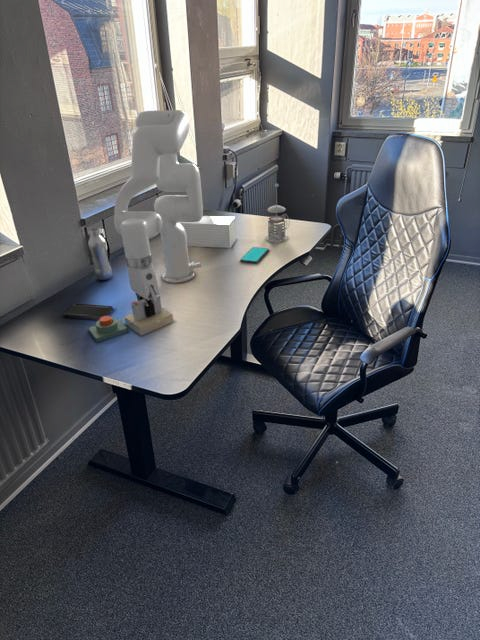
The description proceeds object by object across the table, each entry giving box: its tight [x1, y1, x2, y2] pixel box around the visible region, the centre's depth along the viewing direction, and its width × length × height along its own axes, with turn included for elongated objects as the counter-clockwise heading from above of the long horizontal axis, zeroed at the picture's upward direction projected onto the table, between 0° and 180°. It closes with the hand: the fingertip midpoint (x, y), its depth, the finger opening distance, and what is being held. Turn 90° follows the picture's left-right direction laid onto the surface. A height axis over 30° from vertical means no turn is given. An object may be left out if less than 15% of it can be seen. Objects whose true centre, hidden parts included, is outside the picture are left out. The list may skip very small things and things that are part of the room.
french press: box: [265, 183, 290, 244], centre depth 206 cm, size 10×12×25 cm
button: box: [100, 315, 113, 326], centre depth 144 cm, size 4×4×2 cm
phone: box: [63, 303, 114, 321], centre depth 157 cm, size 8×1×15 cm
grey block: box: [130, 294, 163, 321], centre depth 147 cm, size 9×3×6 cm, turn 131°
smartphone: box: [240, 246, 270, 264], centre depth 195 cm, size 7×1×15 cm
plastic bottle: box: [87, 227, 113, 281], centre depth 178 cm, size 6×7×20 cm
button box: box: [87, 316, 128, 343], centre depth 146 cm, size 10×8×4 cm
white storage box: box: [180, 215, 237, 249], centre depth 210 cm, size 32×11×11 cm, turn 76°
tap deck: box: [123, 306, 174, 337], centre depth 149 cm, size 13×13×3 cm
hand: (147, 313), depth 148 cm, fingers closed
